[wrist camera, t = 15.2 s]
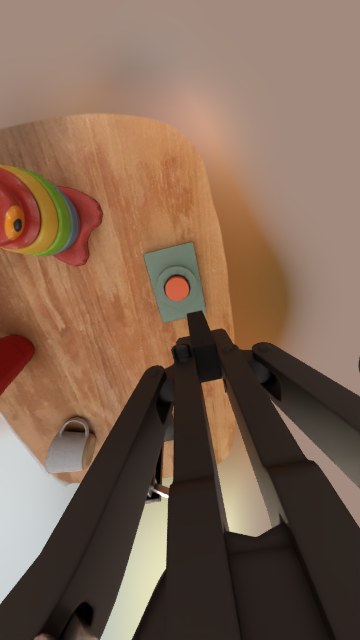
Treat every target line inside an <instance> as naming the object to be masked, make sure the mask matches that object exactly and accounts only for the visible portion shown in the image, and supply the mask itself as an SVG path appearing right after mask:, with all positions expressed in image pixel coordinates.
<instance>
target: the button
mask: <svg viewBox="0 0 360 640" xmlns="http://www.w3.org/2000/svg"><path fill="white" fill-rule="evenodd" d="M165 292H166V295H167V296H168V297H169V298H170V299H171V300H174V301H181V300H183V299H184V298H186V296H187V295H188V293H189V286H188V283H187V281H186V280H185V279H184V278H183V277H181V276H173V277H171V278H170V279H169V280H168V281H167V283H166V287H165Z"/></svg>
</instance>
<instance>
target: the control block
mask: <svg viewBox="0 0 360 640" xmlns="http://www.w3.org/2000/svg"><path fill="white" fill-rule="evenodd" d="M143 256H144V260H145V263H146V266H147V270H148V273H149V277H150V280H151V283H152V287H153V290H154V293H155V297H156V300H157V304H158V307H159V310H160V314H161V317H162V321H163V323H165V322H169V321H174V320H178V319H182V318H186V317H187V313H191V312H196V311H200V310H202V311H203V314H204V313H207V312H206V307H205V302H204V296H203V291H202V286H201V281H200V276H199V271H198V266H197V261H196V256H195V250H194V245H193V242H189V243H185V244H181V245H177V246H173V247H170V248H166V249H162V250H158V251H154V252H150V253H146V254H143ZM173 276H181V277H183V278H184V279H185V280H186V281H187V283H188V286H189V293H188V295H187V296H186V298H184V299H183V300H181V301H174V300H171V299H170V298H169V297H168V296H167V295H166V292H165V287H166V283H167V281H168V280H169V279H170V278H171V277H173Z"/></svg>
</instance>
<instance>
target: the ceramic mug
mask: <svg viewBox="0 0 360 640" xmlns="http://www.w3.org/2000/svg"><path fill="white" fill-rule="evenodd" d="M72 421H76V422H79V423H81V424H82V425H83V426H84V428H85V433H79V432H65V431H64V429H65V427H66V425H67V424H69V423H70V422H72ZM94 449H95V436H94V435H93V434H91V433H89V426H88V423H87V422H86V420H84V419H82V418H79V417H75V418H71V419H69V420H68V421H67V422H66V423H65V424H64V425H63V427H62V429H61V431H60V432H59V433H58V434H57V435H56V436H55V437H54V439H53V440H52V443H51V445H50V447H49V450H48V453H47V457H46V464H45V468H46V471H47V472H48V473H58V472H71V471H80V470H84V469H86V468H87V467H88V466H89V465H90V463H91V460H92V457H93V454H94Z"/></svg>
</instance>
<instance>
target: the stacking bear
mask: <svg viewBox="0 0 360 640" xmlns="http://www.w3.org/2000/svg"><path fill="white" fill-rule="evenodd" d="M102 216H103V213H102V211H101V209H100V205H99V204H98V202H97V201H95V200H94V199H93V198H91V197H89V196H88V195H86V194H84V193H82V192H80V191H77V190H74V189H71V188H67V187H61V186H55V185H54V184H53V183H52V182H50V181H49V180H47V179H46V178H44V177H42V176H41V175H39V174H37V173H34V172H32V171H29V170H26V169H23V168H18V167H13V166H5V165H0V248H3V249H5V250H8V251H12V252H16V253H21V254H25V255H31V256H49V255H53V256H55V257H56V258H58V259H59V260H61V261H63V262H65V263H67V264H69V265H72V266H80V265H81V264H82V265H84V264H85V263H86V260H87V259H88V257H89V252H88V247H87V242H88V237H89V235H90V233H91V231H92V230H93V229H94V228H96V227H97V226H99V225H100V223H101V218H102Z"/></svg>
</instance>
